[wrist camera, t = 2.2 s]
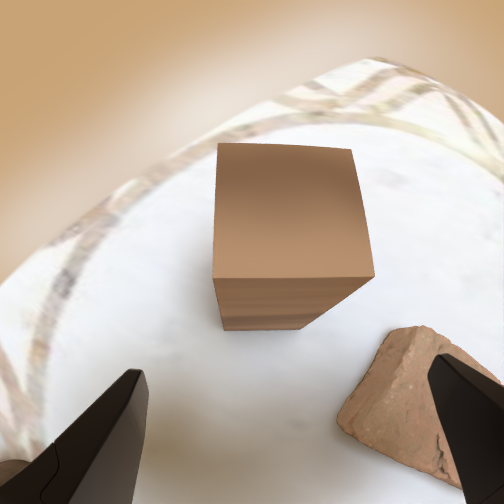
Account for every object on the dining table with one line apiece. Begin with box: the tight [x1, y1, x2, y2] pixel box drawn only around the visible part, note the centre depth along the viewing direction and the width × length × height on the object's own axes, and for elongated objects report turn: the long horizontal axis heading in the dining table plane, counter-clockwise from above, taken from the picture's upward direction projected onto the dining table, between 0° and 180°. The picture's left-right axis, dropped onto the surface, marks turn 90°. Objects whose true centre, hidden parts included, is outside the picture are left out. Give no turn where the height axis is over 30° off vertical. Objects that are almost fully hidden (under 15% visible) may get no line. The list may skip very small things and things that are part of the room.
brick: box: [337, 325, 504, 490], centre depth 17 cm, size 17×8×5 cm, turn 55°
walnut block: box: [213, 143, 375, 331], centre depth 16 cm, size 5×5×12 cm
